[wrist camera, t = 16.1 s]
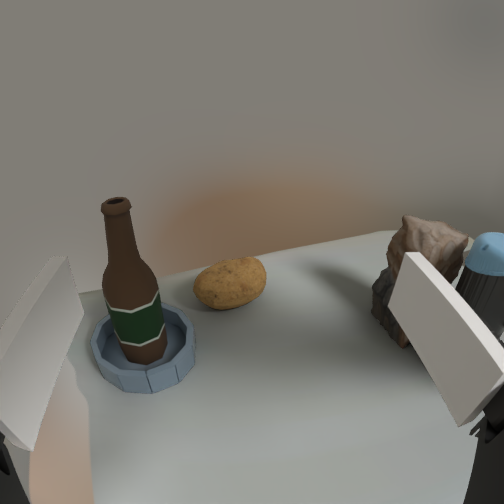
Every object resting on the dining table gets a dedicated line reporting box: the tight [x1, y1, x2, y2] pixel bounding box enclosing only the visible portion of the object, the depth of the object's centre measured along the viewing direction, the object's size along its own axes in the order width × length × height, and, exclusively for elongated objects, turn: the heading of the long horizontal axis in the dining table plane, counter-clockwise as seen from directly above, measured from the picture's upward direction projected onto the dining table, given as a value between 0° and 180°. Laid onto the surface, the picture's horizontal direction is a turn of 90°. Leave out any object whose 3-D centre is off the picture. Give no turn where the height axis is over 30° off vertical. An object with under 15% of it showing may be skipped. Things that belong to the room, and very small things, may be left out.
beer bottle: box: [101, 197, 168, 365], centre depth 39 cm, size 8×8×24 cm
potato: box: [193, 257, 266, 310], centre depth 56 cm, size 10×14×8 cm
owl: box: [371, 215, 469, 349], centre depth 49 cm, size 13×13×20 cm
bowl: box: [90, 303, 196, 394], centre depth 44 cm, size 16×16×4 cm
